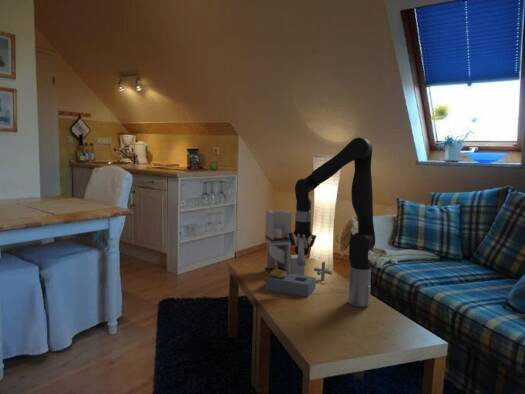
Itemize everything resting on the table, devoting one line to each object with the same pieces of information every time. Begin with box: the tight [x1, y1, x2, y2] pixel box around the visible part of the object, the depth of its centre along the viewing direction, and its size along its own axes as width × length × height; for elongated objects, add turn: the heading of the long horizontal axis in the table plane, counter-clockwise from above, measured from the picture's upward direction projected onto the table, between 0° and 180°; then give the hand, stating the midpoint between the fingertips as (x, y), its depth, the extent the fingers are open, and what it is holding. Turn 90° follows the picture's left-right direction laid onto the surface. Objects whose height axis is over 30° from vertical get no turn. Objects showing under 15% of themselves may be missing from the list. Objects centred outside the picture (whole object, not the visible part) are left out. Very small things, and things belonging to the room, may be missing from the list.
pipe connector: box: [313, 261, 333, 282], centre depth 213 cm, size 10×10×10 cm
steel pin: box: [297, 237, 307, 267], centre depth 194 cm, size 4×4×14 cm
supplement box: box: [289, 254, 305, 276], centre depth 213 cm, size 7×7×13 cm
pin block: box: [264, 272, 317, 298], centre depth 198 cm, size 22×12×6 cm, turn 67°
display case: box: [264, 209, 293, 276], centre depth 221 cm, size 11×11×35 cm
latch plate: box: [270, 268, 290, 279], centre depth 200 cm, size 8×8×1 cm
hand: (301, 254), depth 195 cm, fingers closed on steel pin, 4 cm apart
